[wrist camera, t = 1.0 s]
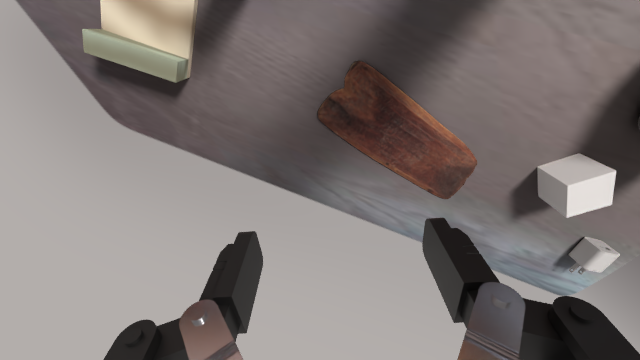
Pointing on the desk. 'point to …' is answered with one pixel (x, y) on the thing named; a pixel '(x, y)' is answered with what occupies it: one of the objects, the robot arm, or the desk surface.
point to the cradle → (146, 36)
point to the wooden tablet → (397, 132)
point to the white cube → (576, 184)
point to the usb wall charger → (592, 255)
